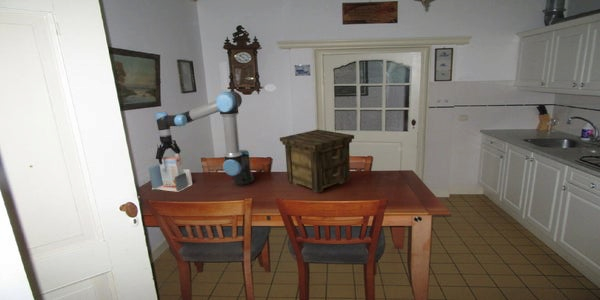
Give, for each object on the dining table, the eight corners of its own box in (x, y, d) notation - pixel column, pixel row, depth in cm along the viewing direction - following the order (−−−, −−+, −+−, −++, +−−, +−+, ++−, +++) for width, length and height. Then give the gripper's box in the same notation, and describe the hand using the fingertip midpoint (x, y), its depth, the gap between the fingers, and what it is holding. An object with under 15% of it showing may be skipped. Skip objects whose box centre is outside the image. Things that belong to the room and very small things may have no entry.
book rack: (192, 186, 218) (189, 164, 214) (178, 193, 205) (174, 170, 201) (167, 183, 227) (163, 162, 223) (152, 189, 215) (147, 168, 211)
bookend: (187, 186, 214) (185, 172, 212) (178, 191, 206) (176, 177, 204) (186, 186, 215) (184, 172, 212) (176, 190, 207) (174, 177, 204)
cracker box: (185, 185, 217) (180, 156, 212) (180, 188, 212) (175, 159, 206) (168, 184, 221) (164, 156, 216) (163, 187, 215) (158, 158, 210)
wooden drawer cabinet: (319, 171, 234) (317, 129, 226) (354, 182, 208) (354, 135, 200) (282, 183, 213) (279, 137, 205) (317, 197, 187) (314, 145, 178)
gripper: (174, 131, 219) (179, 159, 225) (146, 139, 197) (152, 170, 203) (182, 131, 216) (187, 160, 222) (154, 139, 194) (160, 171, 200)
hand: (170, 165), depth 212 cm, fingers open, 13 cm apart
